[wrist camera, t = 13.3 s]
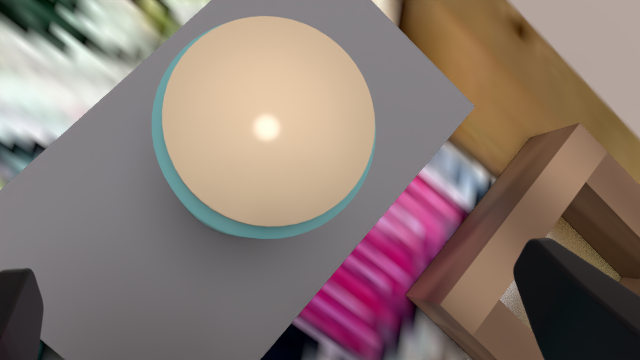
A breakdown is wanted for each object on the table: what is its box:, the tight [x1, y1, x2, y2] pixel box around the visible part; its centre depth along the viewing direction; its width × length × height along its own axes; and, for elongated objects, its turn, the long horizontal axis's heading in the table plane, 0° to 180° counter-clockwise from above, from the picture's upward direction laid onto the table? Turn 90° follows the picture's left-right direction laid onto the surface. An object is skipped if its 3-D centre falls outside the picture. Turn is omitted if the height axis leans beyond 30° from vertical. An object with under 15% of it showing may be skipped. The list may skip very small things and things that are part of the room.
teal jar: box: [152, 16, 376, 239], centre depth 17 cm, size 6×6×10 cm
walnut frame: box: [406, 123, 640, 360], centre depth 24 cm, size 11×11×4 cm
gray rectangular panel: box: [0, 0, 475, 360], centre depth 22 cm, size 20×12×1 cm, turn 138°
